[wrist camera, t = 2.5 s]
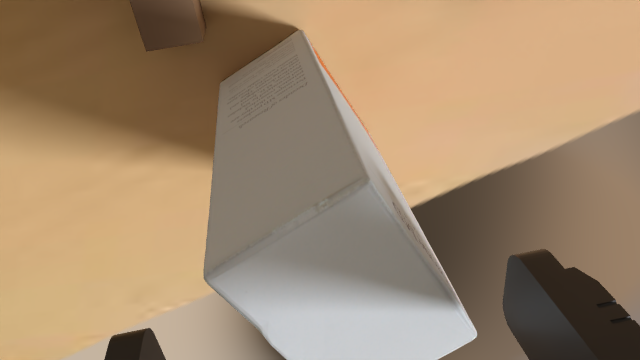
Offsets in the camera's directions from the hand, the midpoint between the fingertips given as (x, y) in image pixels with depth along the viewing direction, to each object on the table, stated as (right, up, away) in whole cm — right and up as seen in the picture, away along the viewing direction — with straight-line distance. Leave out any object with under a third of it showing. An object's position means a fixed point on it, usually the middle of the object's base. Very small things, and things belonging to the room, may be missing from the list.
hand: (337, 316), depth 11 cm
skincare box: (-1, +6, +10) cm, 12 cm away
